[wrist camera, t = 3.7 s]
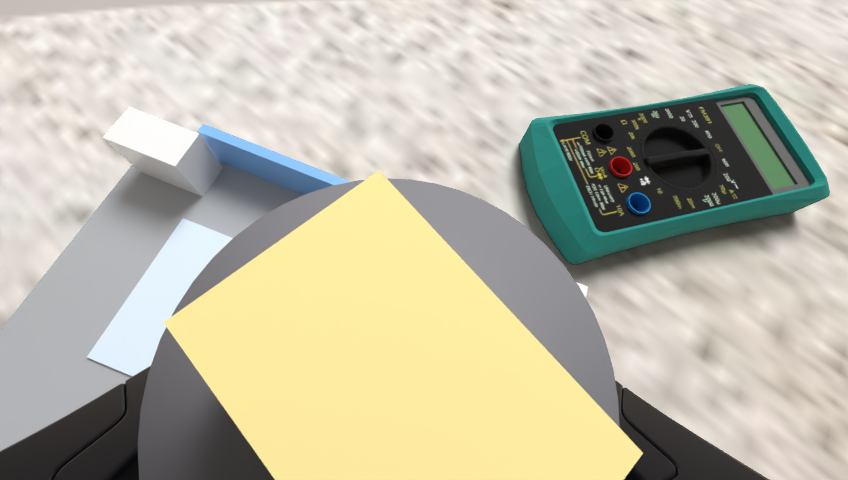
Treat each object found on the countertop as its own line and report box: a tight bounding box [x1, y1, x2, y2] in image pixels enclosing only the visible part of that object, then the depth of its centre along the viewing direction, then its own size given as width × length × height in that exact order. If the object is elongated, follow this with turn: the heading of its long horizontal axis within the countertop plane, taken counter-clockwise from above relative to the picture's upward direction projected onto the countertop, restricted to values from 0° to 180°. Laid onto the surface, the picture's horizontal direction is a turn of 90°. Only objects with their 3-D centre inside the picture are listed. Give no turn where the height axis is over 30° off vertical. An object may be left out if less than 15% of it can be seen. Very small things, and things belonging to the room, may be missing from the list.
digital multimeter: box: [520, 84, 830, 264], centre depth 20 cm, size 7×15×3 cm, turn 105°
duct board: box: [0, 106, 588, 451], centre depth 14 cm, size 20×13×4 cm, turn 69°
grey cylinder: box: [138, 171, 643, 480], centre depth 9 cm, size 4×4×14 cm
